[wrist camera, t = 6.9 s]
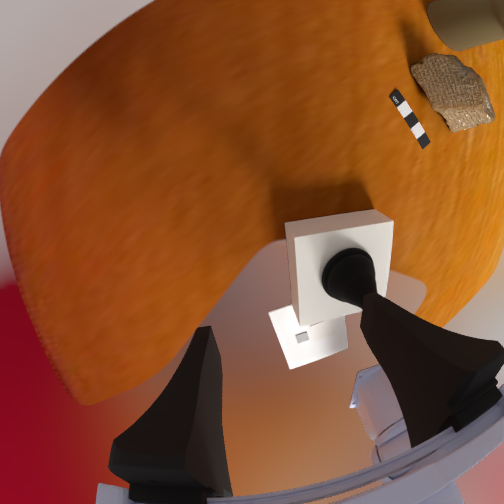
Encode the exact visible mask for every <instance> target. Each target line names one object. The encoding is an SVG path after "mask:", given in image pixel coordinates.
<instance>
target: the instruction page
mask: <svg viewBox="0 0 504 504" xmlns="http://www.w3.org/2000/svg"><path fill="white" fill-rule="evenodd" d="M268 313H269V316H270V319H271V321H272V324H273V326H274V329H275V332H276V334H277V337H278V339H279V342H280V344H281V347H282V350H283V352H284V355H285V358H286V360H287V363H288V365H289V368H290V369H293V368H296V367H299V366H302V365H305V364H308V363H311V362H314V361H317V360H319V359H322V358H325V357H327V356H330V355H333V354H335V353H338V352H340V351H343V350H346V349H348V348H349V347H348V338H347V330H346V322H345V316H342V317H338V318H334V319H330V320H326V321H322V322H318V323H313V324H309V325H304V326H299V323H298V320H297V318H296V315H295V312H294V310H293V307H292V304H289V305H286V306H283V307H280V308H277V309H274V310H271V311H268Z"/></svg>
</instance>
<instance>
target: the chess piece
mask: <svg viewBox="0 0 504 504" xmlns="http://www.w3.org/2000/svg"><path fill="white" fill-rule="evenodd" d="M375 275H376V273H375V267H374V263H373V260H372V258H371V256H370V255H369V254H368V253H367V252H366V251H364V250H363V249H360V248H348V249H345V250H342V251H340V252H338V253H337V254H336V255H334V256H333V257H332V258H331V259H330V260H329V261H328V263H327V264H326V266H325V268H324V270H323V273H322V286H323V289H324V290H325V292H326V293H327V294H328V295H329V296H330V297H332V298H334V299H337V300H339V301H341V302H346V303H349V304H351V305H354V306H357V307H359V308H361V309H362V308H363V300H364V295H365V294H369V293H373V292H376V293H378V292H377V285H376V280H375Z"/></svg>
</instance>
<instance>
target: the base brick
mask: <svg viewBox="0 0 504 504" xmlns="http://www.w3.org/2000/svg"><path fill="white" fill-rule="evenodd" d="M393 225H394V221H393V220H391V219H390V218H388V217H387V216H385V215H384V214H382V213H380V212H379V211H377V210H376V209H372V210H365V211H358V212H351V213H344V214H337V215H331V216H324V217H318V218H311V219H305V220H299V221H292V222H286V223H285V232H286V242H287V253H288V263H289V276H290V288H291V301H292V307H293V310H294V312H295V315H296V318H297V320H298V323H299V326H304V325H309V324H313V323H318V322H322V321H326V320H330V319H334V318H338V317H342V316H346V315H350V314H354V313H358V312H361V311H362V309H361V308H359V307H357V306H354V305H351V304H349V303H346V302H341V301H339V300H337V299H334V298H332V297H330V296H329V295H328V294H327V293H326V292H325V290H324V289H323V286H322V273H323V270H324V268H325V266H326V264H327V263H328V261H329V260H330V259H331V258H332V257H333V256H334V255H336V254H337V253H338V252H340V251H342V250H345V249H348V248H360V249H363V250H364V251H366V252H367V253H368V254H369V255H370V256H371V258H372V260H373V263H374V267H375V273H376V275H375V280H376V285H377V292H378V294H380V295H381V296H383V297H386V290H387V283H388V275H389V268H390V259H391V250H392V238H393Z"/></svg>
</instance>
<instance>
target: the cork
mask: <svg viewBox="0 0 504 504" xmlns="http://www.w3.org/2000/svg"><path fill="white" fill-rule="evenodd" d="M427 14H428V18H429V21H430V24H431V25H432V27H433V29H434V31H435V33H436V34H437V35H438V37H439V38H440V39H441V40H442V41H443V42H444V43H445V45H446V46H448V47H449V48H451V49H452V50H455V51H463V50H466V49H469V48H472V47H476V46H479V45H483V44H486V43H490V42H494V41H498V40H502V39H504V0H438V1H432V2H431V3H429V4H428V7H427Z"/></svg>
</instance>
